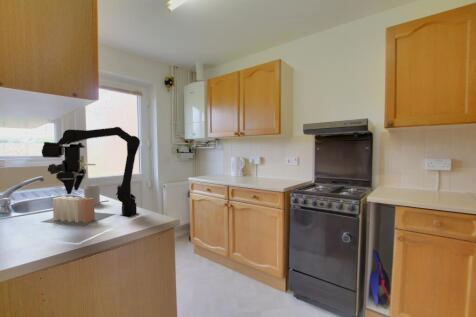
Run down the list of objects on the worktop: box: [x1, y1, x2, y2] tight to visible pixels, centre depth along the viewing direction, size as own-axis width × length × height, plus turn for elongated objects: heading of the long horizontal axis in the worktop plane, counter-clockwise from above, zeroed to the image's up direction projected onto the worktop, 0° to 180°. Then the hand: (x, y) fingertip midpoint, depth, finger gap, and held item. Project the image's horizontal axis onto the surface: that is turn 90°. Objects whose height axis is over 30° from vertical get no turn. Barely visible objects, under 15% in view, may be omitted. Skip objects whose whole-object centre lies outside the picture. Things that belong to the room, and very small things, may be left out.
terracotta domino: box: [82, 198, 96, 223], centre depth 103 cm, size 2×5×10 cm, turn 167°
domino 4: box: [74, 197, 87, 222], centre depth 104 cm, size 2×5×10 cm, turn 167°
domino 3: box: [67, 196, 81, 222], centre depth 105 cm, size 2×5×10 cm, turn 167°
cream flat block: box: [60, 196, 74, 221], centre depth 106 cm, size 2×5×10 cm, turn 167°
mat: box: [41, 211, 116, 227], centre depth 108 cm, size 24×18×1 cm
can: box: [83, 183, 101, 206], centre depth 133 cm, size 8×8×12 cm
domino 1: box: [52, 195, 67, 220], centre depth 107 cm, size 2×5×10 cm, turn 167°
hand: (72, 192), depth 104 cm, fingers open, 9 cm apart
